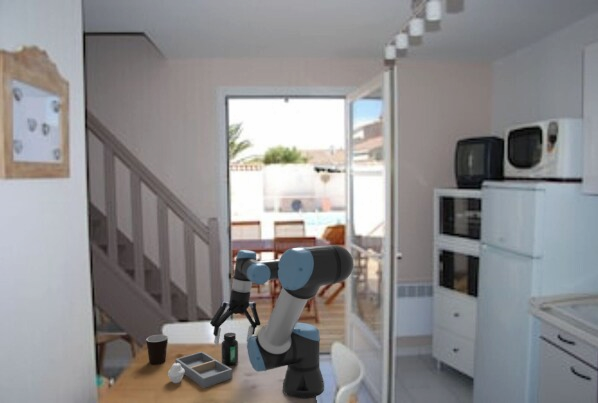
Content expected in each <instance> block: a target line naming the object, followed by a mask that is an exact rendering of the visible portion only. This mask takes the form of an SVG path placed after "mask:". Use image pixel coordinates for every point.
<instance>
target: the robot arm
mask: <svg viewBox="0 0 598 403" xmlns="http://www.w3.org/2000/svg"><path fill="white" fill-rule="evenodd" d="M353 269H354V259H353V257H352V254H351V253H350V252H349V251H348V250H347V248H345V247H343V246H340V245H337V244H328V245H325V244H324V245H317V246H316V245H315V246H314V245H313V246H296V247H294V248H293V247H292V248H289V249H287V250H285V251H284V252H283V253H282V255H281V256H280V258H278V259H265V260H257V252H256V251H253V250H248V249H240V250H238V251H237V254H236V259H235V265H234V272H233V278H232V284H231V288H232V289H231V291H230V298H229V301H228V302H227V301H225V300H222V301H221V303H220V306H219V308H218V309H217V311H216V312H215V314H214V316H213V317H212V319H211V320H210V322H209V324H210V325H211V326H212V327H213V336H214V341H213V342H214V345H216V346H219V343H220V336H221V330H222V328H221V326H222V325H224V323H225V322H226V321H227V319H229V318H230V317H231V316H232V315H233V314H235V315H238V314H240V315H242V314H244V315H245V318H246V319H247V320H248V321H249V323H250V324H249V325H248V329H247V336H246V342H247V343H246V344H247V345H246V346H247V355H248V359H249V362H250V364H251V366H252V368H253V369H254V371H256V372H266V371H269V370H273V369H277V368H281V367H285V366H287V367H286V370H285V375H284V378H283V380H282V391H283V392H284V394H286V395H288V397H292V398H296V399H310V398H315V397H316V398H317V397H318V396H320V395H322V393H324V391H325V380H324V378H323V374H322V371H321V368H320V367H321V366H320V345H321V344H320V341H321V338H320V330H319V329H318V327H317V326H315V325H313V324H310V323H305V322H298V321H299V318H301V315H302V313H303V310H304V309H305V307H306V305H307V302H308V301H309V300H310V299H313V298H314V297H315V296H316V295H317V294H318V292H319V290H320V288H321V287H322V286H327V285H328V286H330V285H335V284H340V283H341V282H344V281H345V280H347V279H348V278H349V277H350V276H351V274H352V272H353V271H354V270H353ZM273 280H278V281H279V282H280V283H279V284H280V285H281V291H280V293H279V294H278V297H277V299H276V302H275V305H274V307H273V310H272V312H271V314H270V317H269V319H268V321H267V324H265V325H263V326H262V327H261V328H260V329H259V331H258V332H257V335H255V332H256V328H257V327H258V326H261V321H260V317H259V314H258V310H257V303H256V302H255V301H254V300H253V301H250V299H251V292H252V285H253V283H254V284H256V285H264V284H266V283H267V282H268V281H273ZM249 307H250V310H251V313H252V315H253V318H252V317H251V315H250V313H249V311H248V310H247V309H248V308H249ZM227 308H228V309H227ZM226 309H227V310H226Z"/></svg>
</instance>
